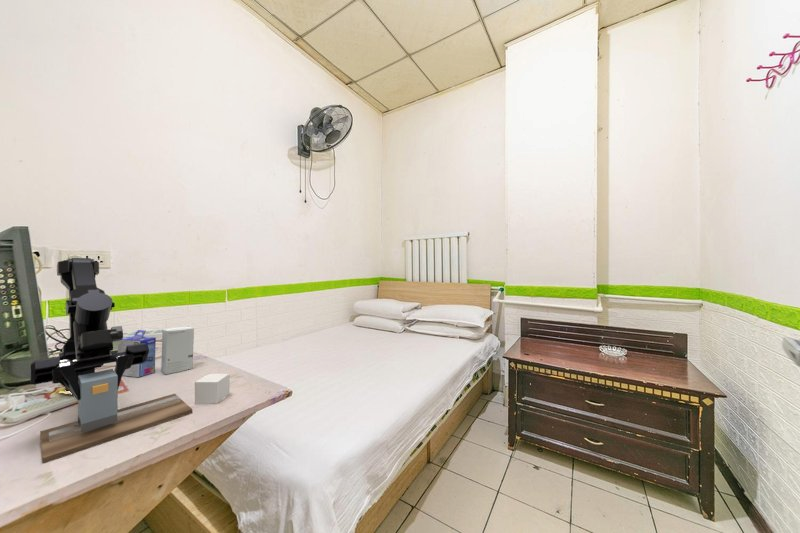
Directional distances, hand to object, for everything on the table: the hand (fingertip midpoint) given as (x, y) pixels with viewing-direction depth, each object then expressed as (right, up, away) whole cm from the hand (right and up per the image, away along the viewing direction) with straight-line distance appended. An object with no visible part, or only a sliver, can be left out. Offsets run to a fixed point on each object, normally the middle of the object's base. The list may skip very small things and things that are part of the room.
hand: (98, 394), depth 65 cm
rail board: (+1, -9, +4) cm, 10 cm away
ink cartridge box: (-23, -8, +35) cm, 42 cm away
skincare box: (-12, -8, +39) cm, 41 cm away
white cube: (+14, -9, +17) cm, 24 cm away
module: (-1, -7, +1) cm, 7 cm away
